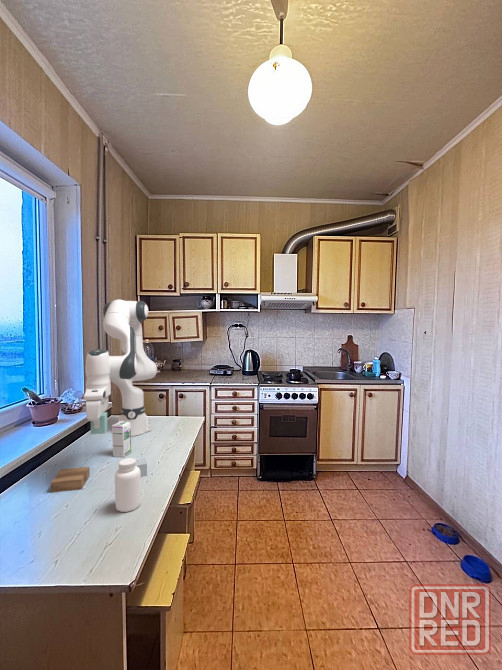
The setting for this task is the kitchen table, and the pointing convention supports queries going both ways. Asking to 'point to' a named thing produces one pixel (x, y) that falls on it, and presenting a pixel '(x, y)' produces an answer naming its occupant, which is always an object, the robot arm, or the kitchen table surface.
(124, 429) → the syrup box
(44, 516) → the kitchen table surface
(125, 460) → the pill bottle
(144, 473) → the grey block
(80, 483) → the base block
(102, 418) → the teal block
